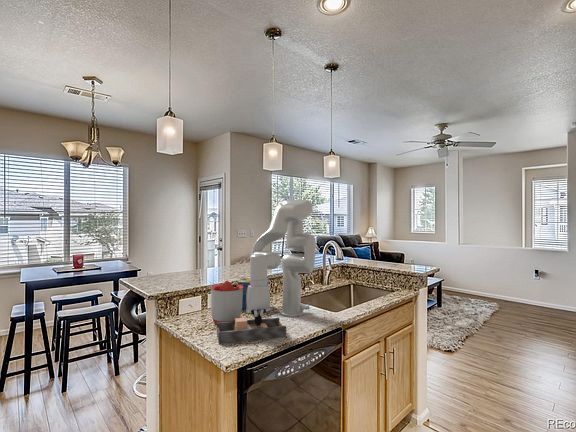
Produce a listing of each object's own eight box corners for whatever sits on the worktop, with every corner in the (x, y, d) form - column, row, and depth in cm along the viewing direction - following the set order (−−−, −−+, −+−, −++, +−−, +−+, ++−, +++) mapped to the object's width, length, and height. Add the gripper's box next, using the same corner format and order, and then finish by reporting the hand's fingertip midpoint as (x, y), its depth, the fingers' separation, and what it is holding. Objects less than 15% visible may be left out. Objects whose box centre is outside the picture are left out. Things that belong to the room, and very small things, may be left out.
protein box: (240, 304, 178) (241, 277, 178) (267, 305, 178) (267, 278, 178) (237, 310, 168) (237, 281, 168) (265, 311, 167) (265, 282, 167)
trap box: (278, 327, 143) (278, 317, 143) (286, 337, 132) (286, 326, 132) (216, 333, 135) (216, 322, 135) (218, 343, 123) (219, 332, 123)
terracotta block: (245, 326, 135) (245, 317, 135) (247, 330, 130) (247, 320, 130) (234, 327, 133) (235, 318, 133) (236, 331, 129) (236, 321, 129)
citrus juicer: (249, 317, 156) (249, 277, 156) (234, 329, 140) (234, 285, 140) (221, 314, 161) (221, 275, 161) (203, 325, 144) (204, 282, 144)
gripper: (273, 280, 140) (272, 320, 140) (240, 281, 136) (239, 323, 136) (277, 283, 133) (276, 326, 133) (242, 285, 129) (242, 329, 129)
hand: (258, 324), depth 134 cm, fingers closed
